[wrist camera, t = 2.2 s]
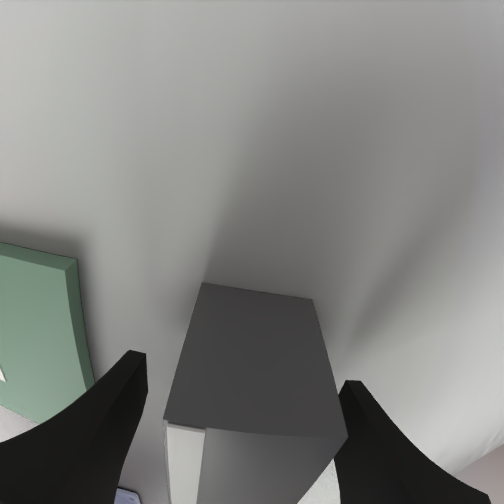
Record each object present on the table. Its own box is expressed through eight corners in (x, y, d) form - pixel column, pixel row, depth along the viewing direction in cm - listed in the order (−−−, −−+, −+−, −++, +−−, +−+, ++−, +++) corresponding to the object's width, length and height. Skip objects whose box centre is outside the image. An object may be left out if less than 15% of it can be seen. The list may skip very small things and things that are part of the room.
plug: (276, 405, 14) (283, 521, 8) (191, 394, 14) (169, 510, 8) (312, 299, 11) (349, 440, 6) (202, 282, 11) (162, 422, 6)
